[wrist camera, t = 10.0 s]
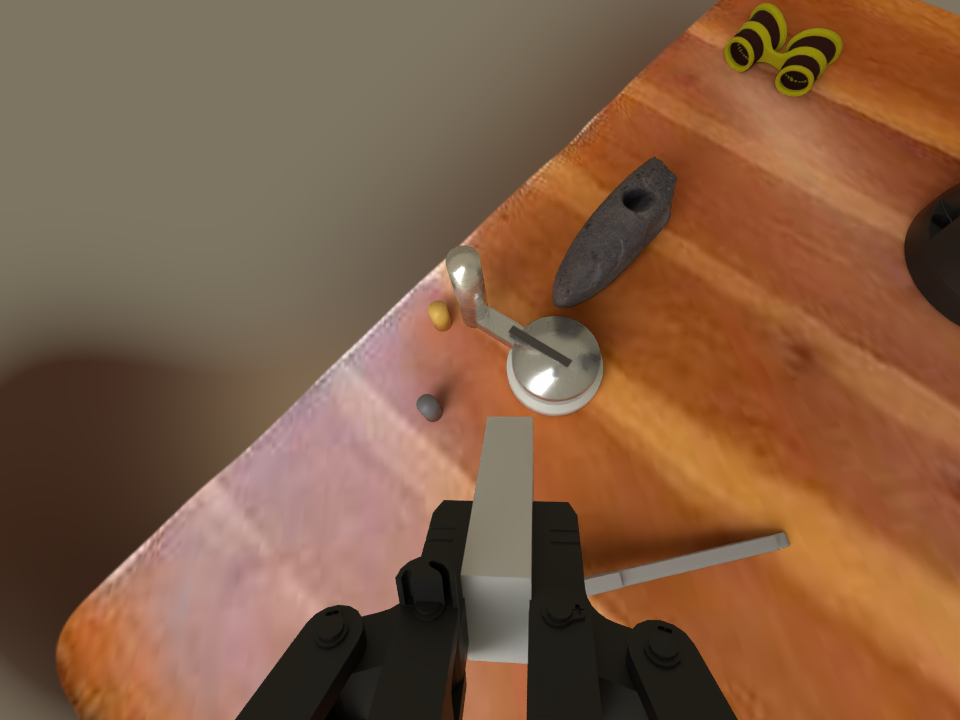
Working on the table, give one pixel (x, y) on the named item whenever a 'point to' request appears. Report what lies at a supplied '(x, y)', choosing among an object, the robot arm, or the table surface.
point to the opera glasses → (801, 53)
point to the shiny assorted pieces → (433, 409)
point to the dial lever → (528, 338)
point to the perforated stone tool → (615, 234)
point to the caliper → (683, 563)
